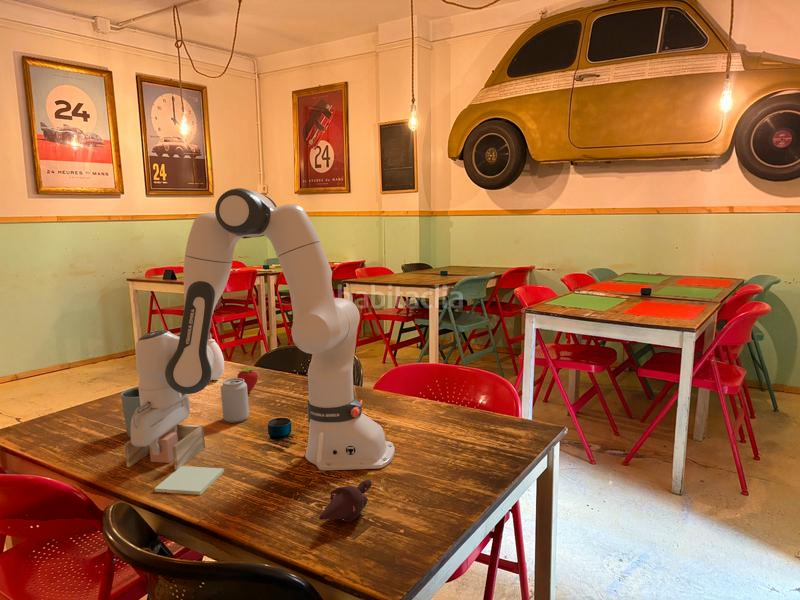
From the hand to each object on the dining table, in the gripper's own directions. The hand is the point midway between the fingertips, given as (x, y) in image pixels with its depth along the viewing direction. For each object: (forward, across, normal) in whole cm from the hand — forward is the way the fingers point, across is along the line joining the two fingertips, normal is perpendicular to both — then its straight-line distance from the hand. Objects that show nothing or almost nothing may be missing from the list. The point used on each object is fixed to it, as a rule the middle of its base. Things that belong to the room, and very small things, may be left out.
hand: (164, 448), depth 141 cm
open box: (+3, +2, 0) cm, 3 cm away
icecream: (+3, -21, -53) cm, 57 cm away
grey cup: (+3, +16, +16) cm, 23 cm away
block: (+3, 0, 0) cm, 3 cm away
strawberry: (+3, +52, +1) cm, 52 cm away
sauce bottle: (+3, +64, +20) cm, 67 cm away
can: (+3, +28, -6) cm, 28 cm away
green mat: (+3, -10, -13) cm, 17 cm away
